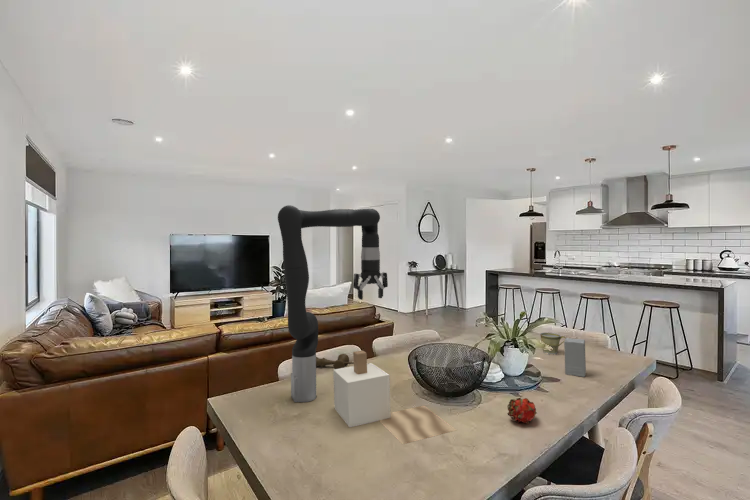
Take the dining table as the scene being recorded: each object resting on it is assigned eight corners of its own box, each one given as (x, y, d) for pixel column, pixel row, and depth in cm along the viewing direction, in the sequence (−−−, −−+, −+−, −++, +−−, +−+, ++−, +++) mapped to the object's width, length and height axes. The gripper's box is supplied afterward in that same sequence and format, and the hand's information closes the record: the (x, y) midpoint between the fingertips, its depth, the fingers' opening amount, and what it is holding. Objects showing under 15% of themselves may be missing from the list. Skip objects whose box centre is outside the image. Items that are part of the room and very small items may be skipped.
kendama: (317, 364, 190) (356, 365, 186) (311, 371, 180) (352, 372, 177) (317, 352, 189) (356, 353, 186) (310, 359, 180) (351, 360, 176)
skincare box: (585, 373, 174) (586, 339, 173) (584, 378, 168) (585, 342, 167) (565, 370, 178) (565, 336, 178) (563, 374, 172) (564, 340, 172)
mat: (402, 446, 113) (402, 444, 113) (374, 417, 131) (374, 416, 131) (457, 431, 121) (457, 430, 121) (423, 407, 140) (423, 405, 140)
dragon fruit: (505, 428, 127) (531, 425, 132) (523, 422, 121) (549, 419, 126) (497, 402, 131) (522, 400, 137) (514, 394, 125) (539, 393, 131)
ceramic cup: (543, 355, 201) (543, 336, 201) (538, 349, 211) (538, 332, 211) (569, 356, 199) (569, 337, 199) (562, 350, 209) (563, 333, 209)
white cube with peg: (349, 427, 124) (347, 361, 123) (334, 410, 137) (332, 350, 137) (390, 417, 130) (388, 354, 130) (372, 401, 144) (370, 344, 143)
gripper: (357, 259, 146) (357, 301, 146) (390, 258, 152) (390, 298, 152) (350, 258, 153) (350, 298, 153) (382, 257, 159) (382, 296, 159)
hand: (370, 298), depth 153 cm, fingers open, 8 cm apart
